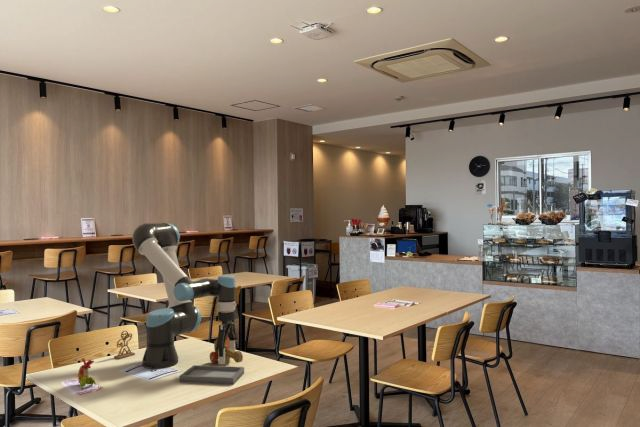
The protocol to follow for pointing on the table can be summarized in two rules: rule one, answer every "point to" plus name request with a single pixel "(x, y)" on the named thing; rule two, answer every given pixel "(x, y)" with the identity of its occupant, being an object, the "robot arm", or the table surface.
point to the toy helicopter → (226, 353)
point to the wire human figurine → (124, 348)
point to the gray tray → (212, 374)
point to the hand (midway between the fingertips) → (227, 359)
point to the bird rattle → (85, 374)
